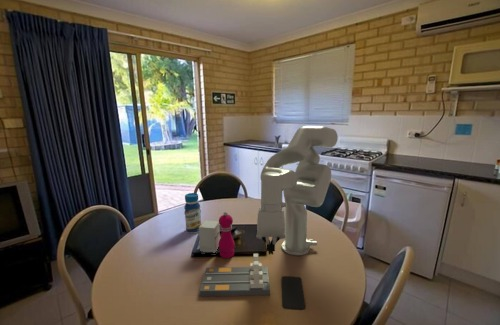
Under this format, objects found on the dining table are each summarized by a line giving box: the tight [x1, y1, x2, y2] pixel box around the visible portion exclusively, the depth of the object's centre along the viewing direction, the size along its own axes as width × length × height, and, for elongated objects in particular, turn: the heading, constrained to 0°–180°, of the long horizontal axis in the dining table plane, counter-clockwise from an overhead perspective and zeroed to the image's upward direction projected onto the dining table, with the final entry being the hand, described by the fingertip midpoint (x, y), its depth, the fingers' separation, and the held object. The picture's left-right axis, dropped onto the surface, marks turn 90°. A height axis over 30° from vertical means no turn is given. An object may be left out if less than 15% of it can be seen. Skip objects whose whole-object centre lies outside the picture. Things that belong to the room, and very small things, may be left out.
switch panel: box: [199, 266, 271, 297], centre depth 88 cm, size 24×13×2 cm, turn 90°
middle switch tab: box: [250, 260, 263, 279], centre depth 87 cm, size 4×2×6 cm, turn 90°
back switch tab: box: [249, 253, 263, 270], centre depth 92 cm, size 4×2×6 cm, turn 90°
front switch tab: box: [250, 270, 263, 288], centre depth 82 cm, size 4×2×6 cm, turn 90°
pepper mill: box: [218, 211, 236, 259], centre depth 104 cm, size 7×7×20 cm
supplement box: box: [198, 220, 221, 253], centre depth 109 cm, size 7×7×13 cm
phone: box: [281, 275, 306, 311], centre depth 83 cm, size 7×1×15 cm
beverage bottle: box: [183, 192, 202, 234], centre depth 127 cm, size 8×8×20 cm
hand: (270, 252), depth 90 cm, fingers closed
